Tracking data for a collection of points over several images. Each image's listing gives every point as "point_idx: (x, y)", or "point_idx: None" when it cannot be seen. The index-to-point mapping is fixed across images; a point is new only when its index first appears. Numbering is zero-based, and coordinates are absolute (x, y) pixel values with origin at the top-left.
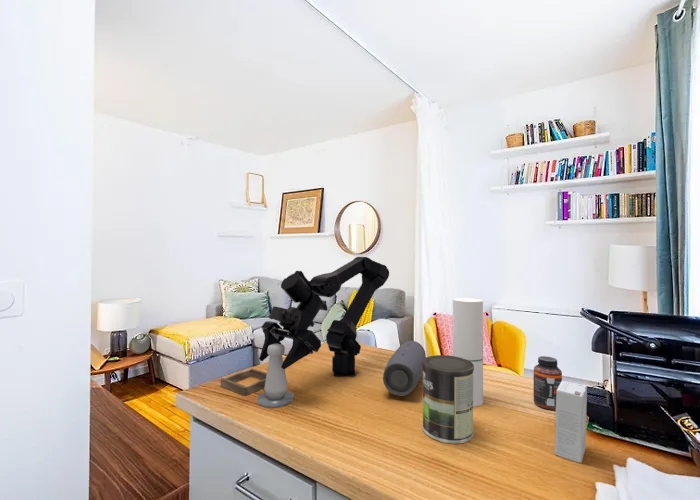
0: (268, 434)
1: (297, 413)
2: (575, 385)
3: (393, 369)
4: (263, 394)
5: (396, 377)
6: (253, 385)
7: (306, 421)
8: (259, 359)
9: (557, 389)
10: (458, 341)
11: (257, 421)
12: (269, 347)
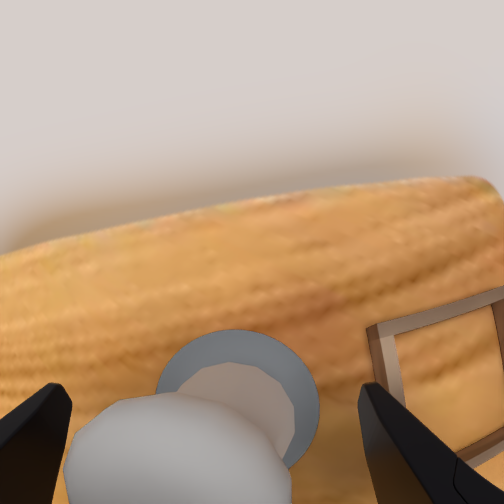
0: (61, 243)
1: (81, 382)
2: None
3: None
4: (300, 385)
5: None
6: (384, 373)
7: (34, 360)
8: (370, 383)
9: None
10: None
11: (134, 257)
12: (166, 420)
